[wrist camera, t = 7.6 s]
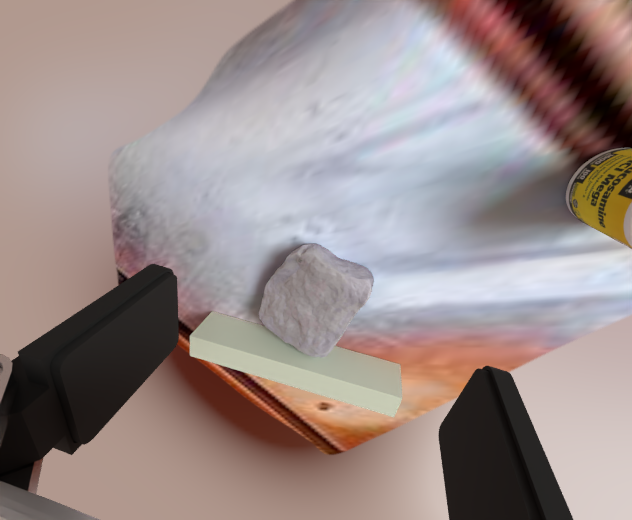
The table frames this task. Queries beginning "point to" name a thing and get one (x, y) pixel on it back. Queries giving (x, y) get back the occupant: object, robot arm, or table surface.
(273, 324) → the grey rock
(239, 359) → the board
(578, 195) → the pill bottle
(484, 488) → the robot arm
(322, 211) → the table surface
